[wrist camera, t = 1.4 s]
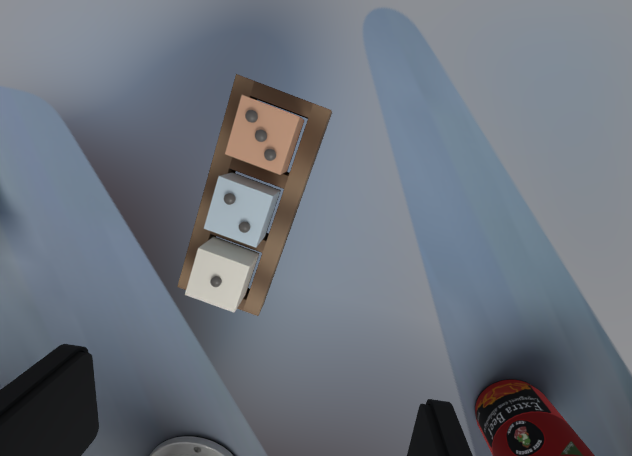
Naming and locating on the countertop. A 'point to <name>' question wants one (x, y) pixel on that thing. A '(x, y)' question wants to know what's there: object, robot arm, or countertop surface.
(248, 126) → the tile three pip
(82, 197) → the countertop surface
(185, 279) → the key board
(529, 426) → the canned food
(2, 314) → the countertop surface
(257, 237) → the tile two pip
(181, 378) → the countertop surface
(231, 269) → the tile one pip
